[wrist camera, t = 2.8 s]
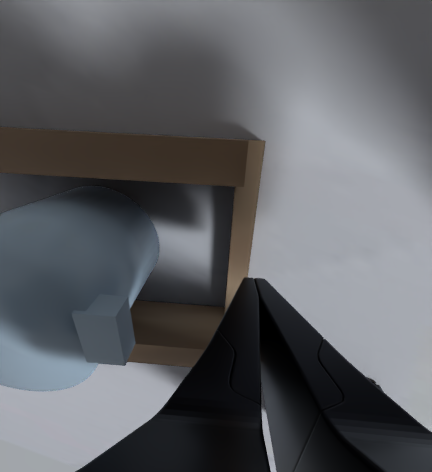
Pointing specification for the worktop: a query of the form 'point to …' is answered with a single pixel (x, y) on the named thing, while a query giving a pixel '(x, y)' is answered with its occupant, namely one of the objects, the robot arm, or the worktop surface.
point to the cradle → (155, 170)
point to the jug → (70, 285)
